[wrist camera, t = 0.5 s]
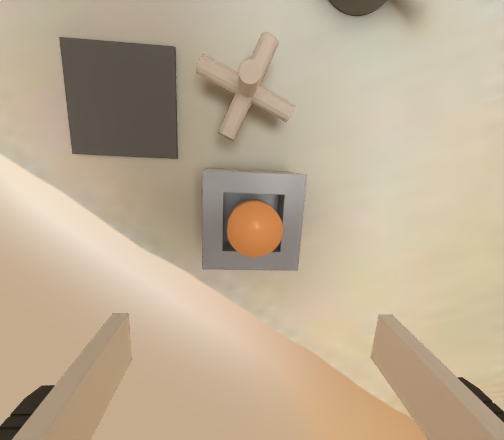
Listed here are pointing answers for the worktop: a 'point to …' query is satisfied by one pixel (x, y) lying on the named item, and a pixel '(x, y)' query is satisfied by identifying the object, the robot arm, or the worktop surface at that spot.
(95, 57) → the mat
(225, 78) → the beige toy jack
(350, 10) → the mug
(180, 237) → the worktop surface
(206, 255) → the housing
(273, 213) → the plunger
